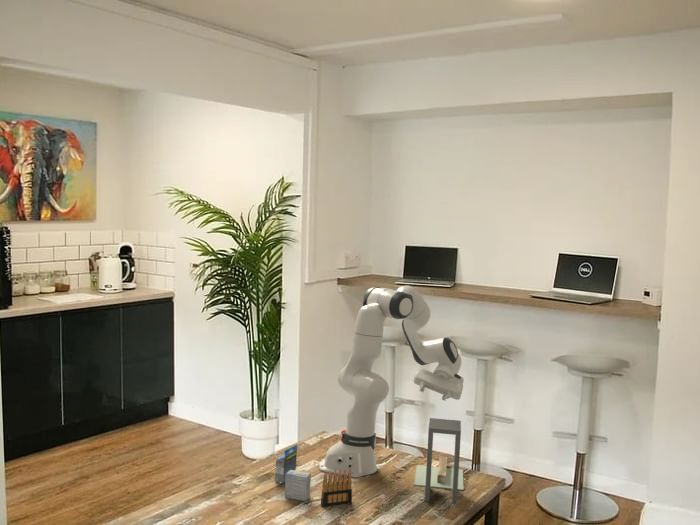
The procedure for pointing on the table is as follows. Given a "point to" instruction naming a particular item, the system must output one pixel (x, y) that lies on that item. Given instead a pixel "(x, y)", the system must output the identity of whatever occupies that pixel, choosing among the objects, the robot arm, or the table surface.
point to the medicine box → (297, 485)
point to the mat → (421, 478)
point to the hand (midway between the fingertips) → (432, 394)
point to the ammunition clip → (336, 489)
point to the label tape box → (285, 464)
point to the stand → (454, 429)
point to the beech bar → (442, 470)
